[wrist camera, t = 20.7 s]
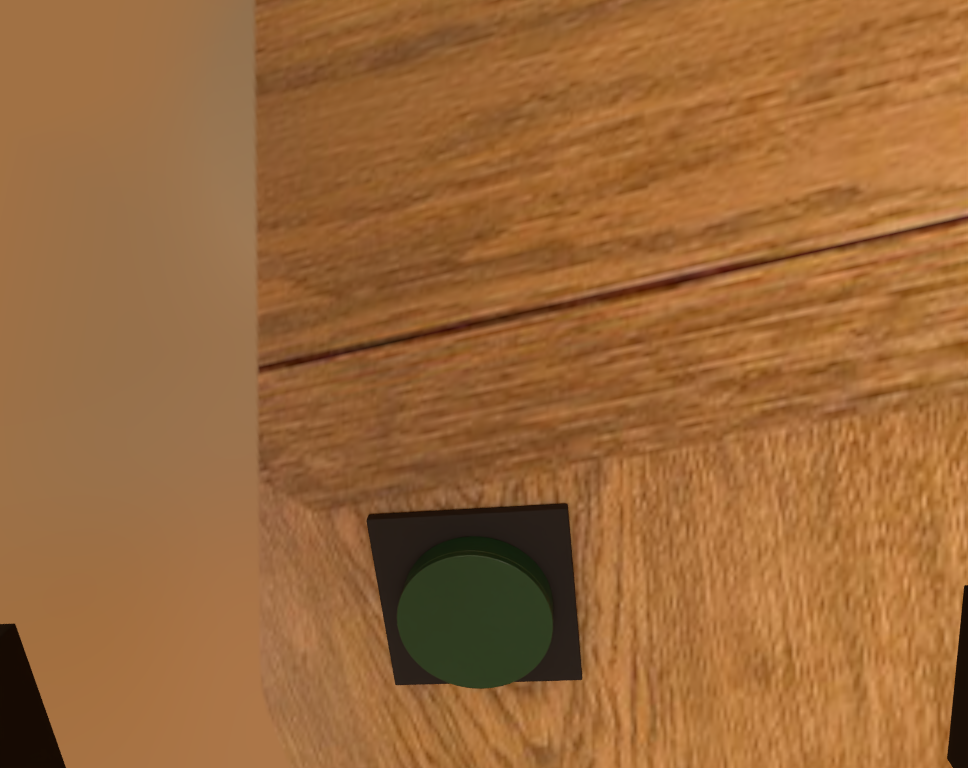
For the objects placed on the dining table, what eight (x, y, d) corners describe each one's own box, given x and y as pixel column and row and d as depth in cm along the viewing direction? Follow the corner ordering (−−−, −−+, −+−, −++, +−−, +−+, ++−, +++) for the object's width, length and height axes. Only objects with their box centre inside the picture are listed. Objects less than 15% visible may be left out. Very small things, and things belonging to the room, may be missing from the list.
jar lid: (558, 664, 39) (558, 689, 37) (413, 667, 40) (407, 691, 38) (548, 532, 37) (547, 552, 35) (394, 538, 38) (386, 557, 36)
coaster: (368, 514, 38) (365, 520, 37) (567, 503, 37) (567, 508, 36) (397, 677, 41) (395, 685, 41) (581, 672, 40) (582, 680, 39)
